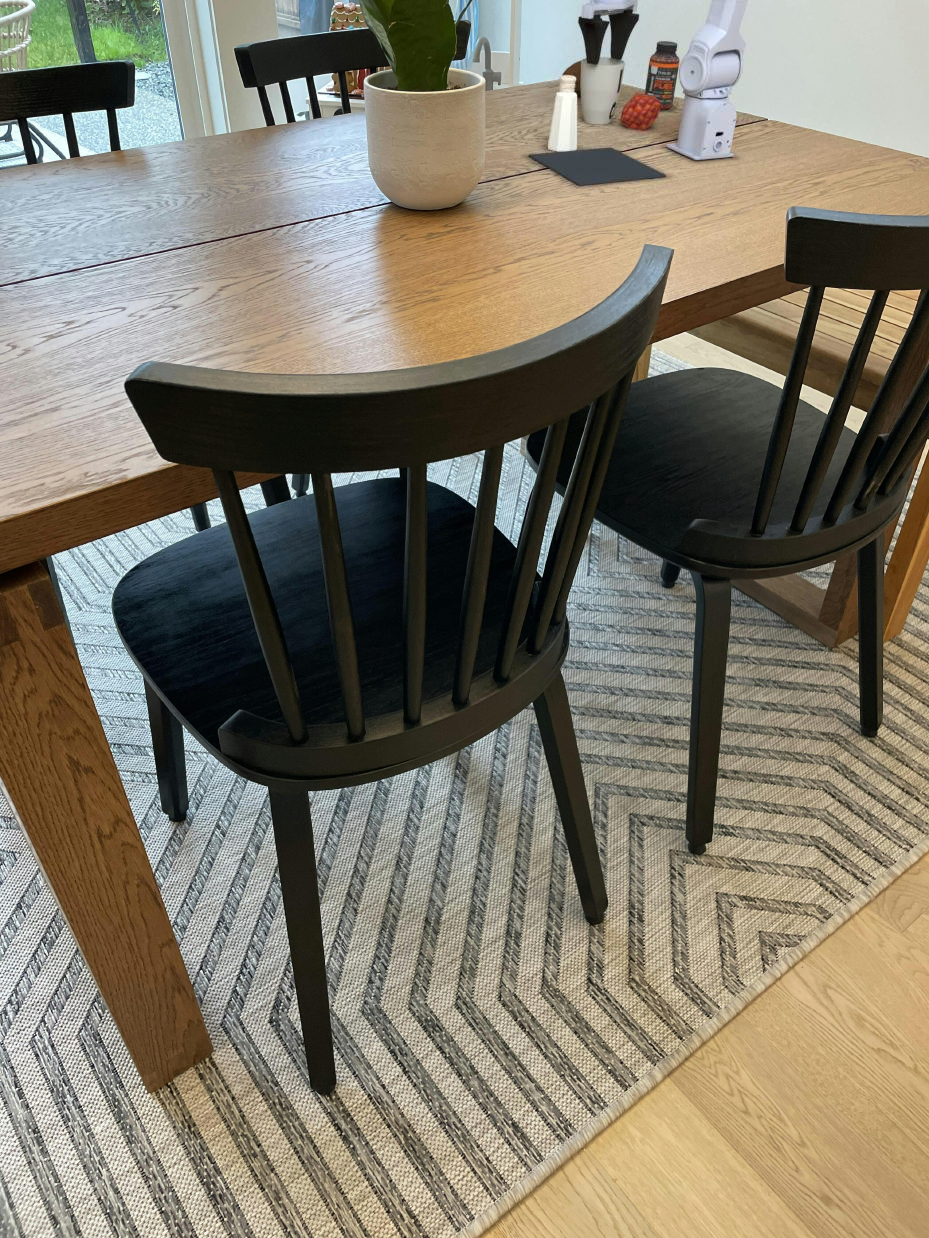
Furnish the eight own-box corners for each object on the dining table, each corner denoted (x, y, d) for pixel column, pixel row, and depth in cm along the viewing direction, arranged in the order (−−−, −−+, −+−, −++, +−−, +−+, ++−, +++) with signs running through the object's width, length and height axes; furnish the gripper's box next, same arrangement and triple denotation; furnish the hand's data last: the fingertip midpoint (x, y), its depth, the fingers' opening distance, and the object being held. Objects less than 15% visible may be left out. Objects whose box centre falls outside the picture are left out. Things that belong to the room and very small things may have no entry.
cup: (620, 127, 174) (627, 66, 167) (577, 126, 174) (583, 65, 167) (615, 116, 180) (622, 57, 173) (574, 115, 180) (579, 56, 173)
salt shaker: (554, 153, 158) (560, 80, 151) (541, 145, 162) (546, 74, 155) (582, 151, 160) (590, 78, 152) (568, 143, 163) (575, 72, 156)
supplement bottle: (650, 111, 184) (659, 45, 177) (638, 104, 189) (646, 40, 181) (677, 110, 186) (687, 45, 178) (664, 103, 190) (674, 39, 183)
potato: (618, 99, 192) (622, 60, 188) (571, 103, 188) (575, 64, 184) (600, 92, 197) (604, 55, 192) (554, 96, 193) (557, 58, 188)
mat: (665, 177, 149) (666, 175, 148) (578, 186, 144) (578, 184, 143) (610, 149, 161) (610, 147, 161) (528, 156, 156) (528, 154, 156)
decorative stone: (625, 136, 177) (666, 121, 174) (622, 139, 172) (665, 123, 169) (616, 101, 175) (658, 84, 172) (613, 102, 169) (656, 85, 166)
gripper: (618, -33, 167) (609, 53, 175) (570, -28, 158) (563, 63, 167) (651, -30, 163) (640, 59, 172) (604, -24, 155) (594, 69, 164)
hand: (604, 61), depth 169 cm, fingers open, 7 cm apart
